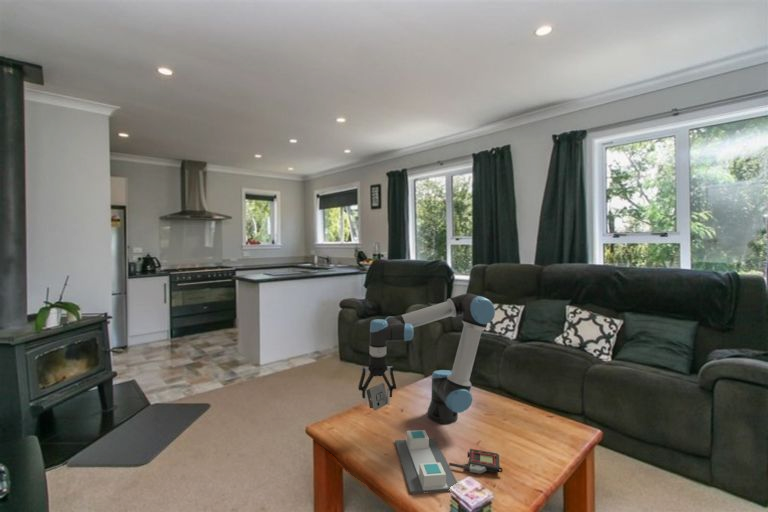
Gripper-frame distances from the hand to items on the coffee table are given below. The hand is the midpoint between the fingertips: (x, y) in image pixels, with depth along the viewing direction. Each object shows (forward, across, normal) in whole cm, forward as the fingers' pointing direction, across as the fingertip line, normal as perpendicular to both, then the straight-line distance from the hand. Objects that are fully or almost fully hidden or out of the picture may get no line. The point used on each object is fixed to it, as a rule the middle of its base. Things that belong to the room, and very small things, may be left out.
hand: (376, 404), depth 157 cm
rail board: (+15, +17, -20) cm, 30 cm away
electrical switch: (+1, 0, 0) cm, 1 cm away
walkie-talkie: (+11, +36, -25) cm, 45 cm away
